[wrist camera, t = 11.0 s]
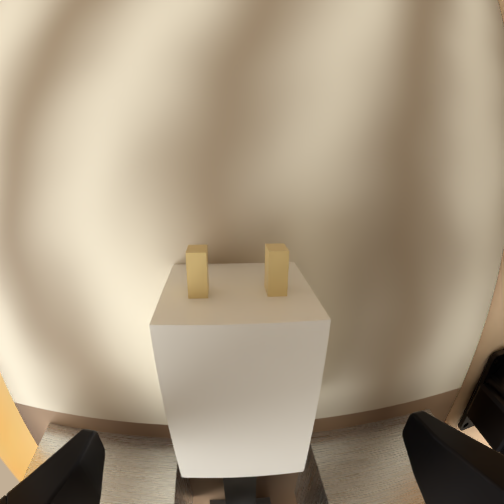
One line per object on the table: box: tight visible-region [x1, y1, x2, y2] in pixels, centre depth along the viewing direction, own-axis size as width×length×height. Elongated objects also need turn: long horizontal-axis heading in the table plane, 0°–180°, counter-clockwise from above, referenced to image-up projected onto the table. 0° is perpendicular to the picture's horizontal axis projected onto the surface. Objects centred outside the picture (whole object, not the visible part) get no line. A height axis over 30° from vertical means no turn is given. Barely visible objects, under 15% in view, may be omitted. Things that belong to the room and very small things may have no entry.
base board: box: [0, 0, 504, 504], centre depth 14 cm, size 24×57×1 cm, turn 179°
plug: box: [149, 243, 331, 504], centre depth 11 cm, size 4×19×4 cm, turn 0°
